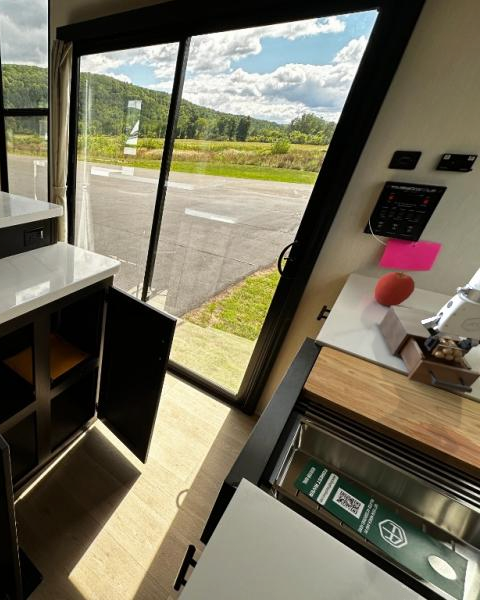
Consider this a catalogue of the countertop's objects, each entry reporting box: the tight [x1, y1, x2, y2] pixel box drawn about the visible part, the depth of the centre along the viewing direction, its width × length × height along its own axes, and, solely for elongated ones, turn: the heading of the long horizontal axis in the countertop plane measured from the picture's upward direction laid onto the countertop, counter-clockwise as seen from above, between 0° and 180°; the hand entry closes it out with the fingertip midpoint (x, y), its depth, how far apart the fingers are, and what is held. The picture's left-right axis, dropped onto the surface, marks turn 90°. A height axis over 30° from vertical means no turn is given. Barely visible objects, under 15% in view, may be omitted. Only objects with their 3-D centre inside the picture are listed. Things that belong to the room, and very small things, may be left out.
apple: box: [374, 271, 416, 307], centre depth 117 cm, size 10×10×14 cm
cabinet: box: [378, 305, 463, 358], centre depth 99 cm, size 17×13×9 cm
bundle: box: [432, 336, 469, 362], centre depth 86 cm, size 8×6×3 cm
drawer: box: [399, 336, 480, 394], centre depth 88 cm, size 20×11×7 cm, turn 153°
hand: (443, 350), depth 87 cm, fingers closed on bundle, 5 cm apart
